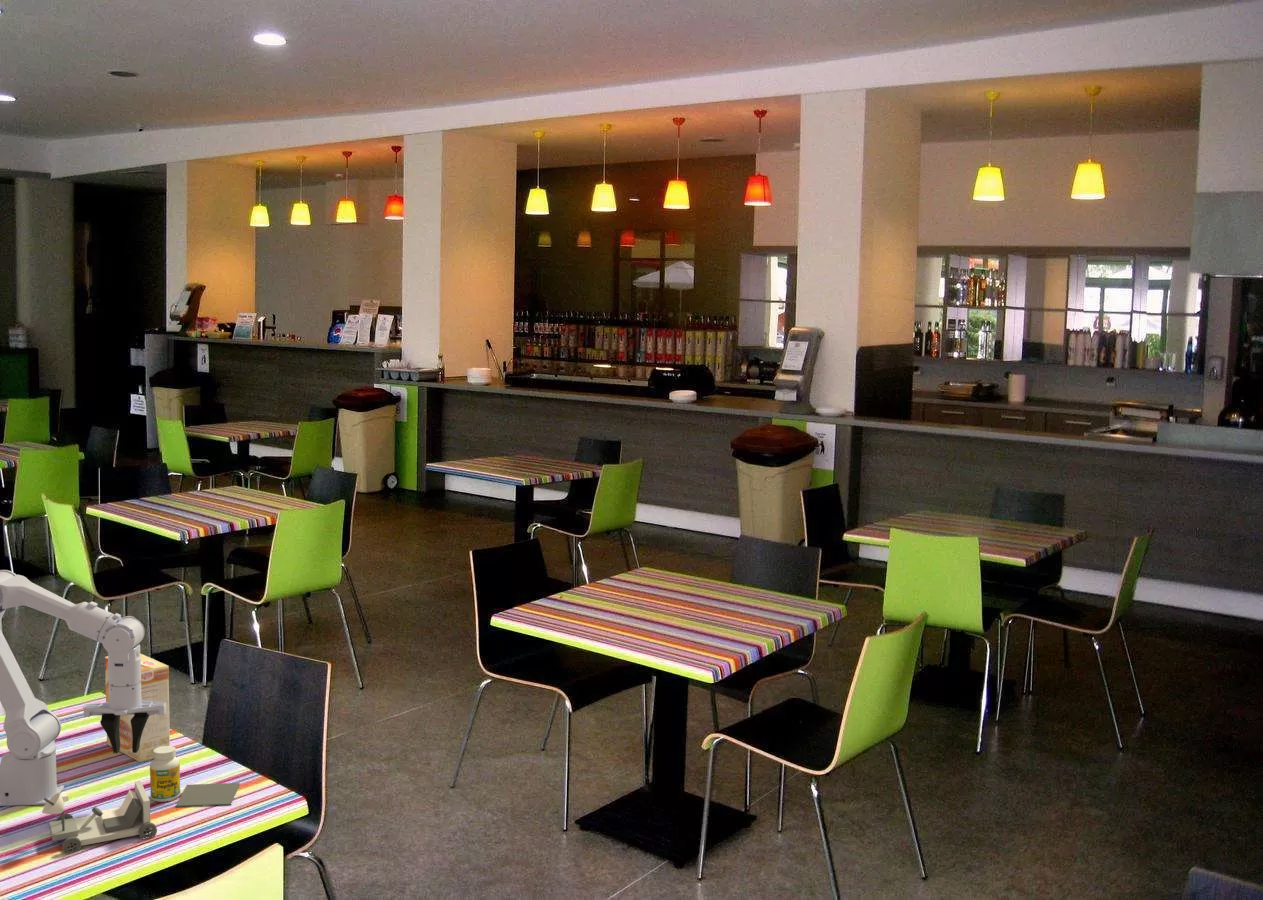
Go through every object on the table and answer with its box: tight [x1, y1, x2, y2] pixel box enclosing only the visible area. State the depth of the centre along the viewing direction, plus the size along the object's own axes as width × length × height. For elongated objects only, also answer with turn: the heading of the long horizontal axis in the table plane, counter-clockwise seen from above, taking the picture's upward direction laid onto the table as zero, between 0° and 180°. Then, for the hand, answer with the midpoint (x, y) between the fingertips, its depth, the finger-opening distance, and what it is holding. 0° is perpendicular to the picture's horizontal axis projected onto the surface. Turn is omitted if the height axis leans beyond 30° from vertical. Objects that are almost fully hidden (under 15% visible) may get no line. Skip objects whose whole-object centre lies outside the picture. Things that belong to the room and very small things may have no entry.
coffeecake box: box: [104, 653, 171, 763], centre depth 251 cm, size 15×7×20 cm, turn 49°
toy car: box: [41, 780, 158, 855], centre depth 212 cm, size 18×10×12 cm
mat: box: [175, 782, 241, 808], centre depth 230 cm, size 10×10×1 cm
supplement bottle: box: [149, 745, 181, 803], centre depth 228 cm, size 5×5×10 cm
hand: (126, 751), depth 226 cm, fingers open, 3 cm apart
